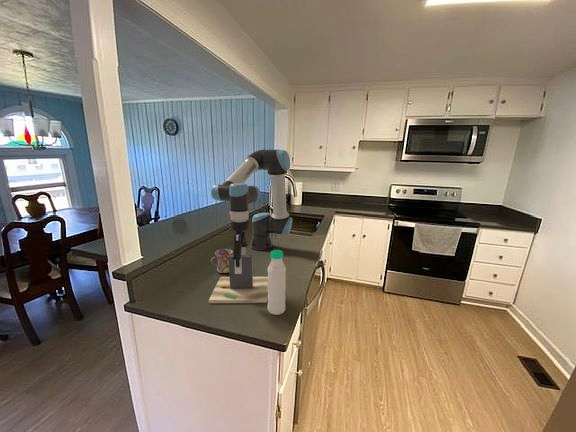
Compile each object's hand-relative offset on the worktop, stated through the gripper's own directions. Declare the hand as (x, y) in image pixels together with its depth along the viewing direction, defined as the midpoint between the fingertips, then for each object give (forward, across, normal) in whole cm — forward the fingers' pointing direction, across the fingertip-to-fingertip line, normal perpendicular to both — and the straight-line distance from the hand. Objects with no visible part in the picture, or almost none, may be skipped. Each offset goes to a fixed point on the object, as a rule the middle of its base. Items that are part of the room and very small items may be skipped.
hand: (240, 266), depth 106 cm
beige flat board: (+12, 0, 0) cm, 12 cm away
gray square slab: (+10, 0, -2) cm, 10 cm away
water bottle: (+12, +15, +16) cm, 25 cm away
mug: (+12, -19, -13) cm, 26 cm away
